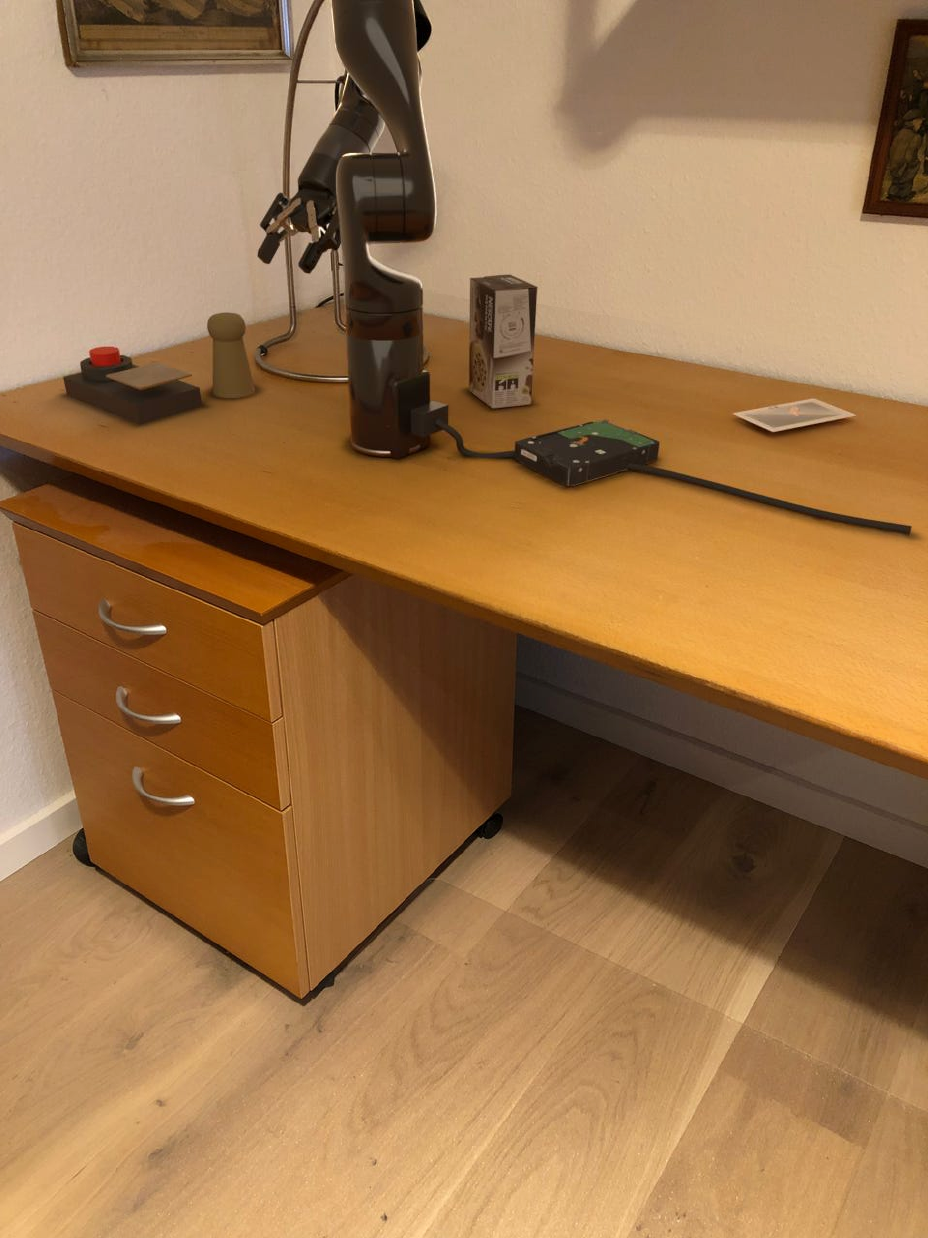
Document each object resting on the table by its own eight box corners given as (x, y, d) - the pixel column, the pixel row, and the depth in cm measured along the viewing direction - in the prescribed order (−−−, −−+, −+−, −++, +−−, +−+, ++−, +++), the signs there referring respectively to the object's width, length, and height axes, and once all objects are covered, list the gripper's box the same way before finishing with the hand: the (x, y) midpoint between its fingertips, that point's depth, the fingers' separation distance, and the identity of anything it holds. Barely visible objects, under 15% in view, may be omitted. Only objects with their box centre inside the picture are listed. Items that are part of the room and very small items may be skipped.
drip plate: (191, 376, 128) (191, 373, 128) (140, 389, 122) (140, 387, 122) (157, 364, 132) (157, 362, 132) (106, 377, 127) (105, 374, 127)
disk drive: (569, 491, 108) (659, 461, 116) (570, 468, 107) (661, 439, 114) (512, 462, 115) (600, 436, 123) (512, 441, 114) (602, 415, 121)
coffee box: (533, 404, 133) (539, 286, 125) (491, 409, 131) (494, 289, 123) (507, 385, 140) (511, 272, 132) (466, 390, 138) (468, 275, 130)
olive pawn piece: (260, 386, 139) (252, 309, 133) (248, 399, 134) (239, 320, 128) (220, 384, 139) (210, 307, 133) (206, 397, 134) (196, 318, 128)
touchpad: (854, 422, 129) (858, 407, 127) (771, 439, 123) (774, 423, 122) (812, 405, 135) (815, 390, 133) (730, 421, 129) (733, 405, 127)
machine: (202, 406, 131) (198, 374, 128) (139, 425, 124) (133, 391, 122) (128, 379, 140) (123, 349, 138) (66, 395, 134) (60, 363, 132)
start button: (127, 363, 133) (124, 349, 132) (101, 369, 131) (99, 355, 130) (111, 358, 136) (108, 344, 135) (86, 364, 133) (83, 350, 132)
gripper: (285, 145, 137) (233, 241, 136) (356, 155, 130) (302, 256, 128) (314, 181, 143) (265, 273, 142) (383, 192, 136) (332, 289, 135)
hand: (282, 265), depth 135 cm, fingers open, 8 cm apart
